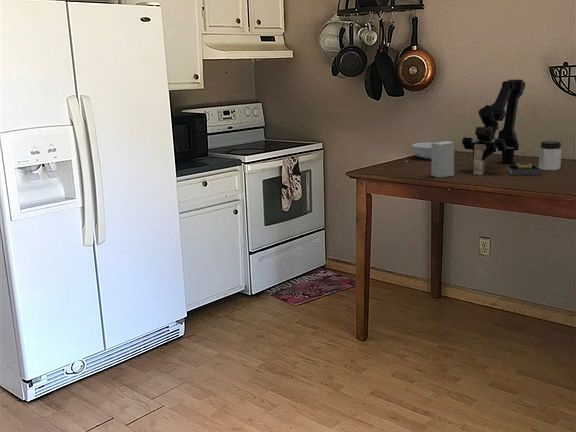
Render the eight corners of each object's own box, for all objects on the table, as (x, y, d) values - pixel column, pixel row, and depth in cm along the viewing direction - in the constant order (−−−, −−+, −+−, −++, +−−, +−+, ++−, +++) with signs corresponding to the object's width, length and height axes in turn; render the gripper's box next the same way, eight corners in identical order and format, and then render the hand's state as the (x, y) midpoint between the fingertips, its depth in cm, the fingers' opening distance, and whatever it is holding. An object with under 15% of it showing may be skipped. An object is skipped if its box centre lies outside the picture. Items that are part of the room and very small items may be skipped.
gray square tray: (506, 170, 286) (507, 161, 285) (534, 170, 284) (535, 161, 283) (511, 175, 274) (512, 166, 273) (541, 175, 272) (541, 166, 271)
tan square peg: (476, 172, 284) (477, 143, 280) (484, 173, 281) (485, 144, 278) (473, 174, 281) (474, 144, 278) (481, 174, 279) (482, 145, 276)
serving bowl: (457, 160, 318) (458, 146, 316) (415, 162, 318) (415, 148, 317) (448, 154, 338) (448, 141, 336) (408, 155, 338) (408, 142, 337)
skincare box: (446, 173, 284) (447, 140, 280) (454, 176, 278) (455, 142, 275) (430, 175, 281) (430, 142, 278) (438, 178, 276) (438, 143, 272)
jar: (551, 171, 281) (552, 144, 278) (535, 168, 288) (536, 142, 285) (563, 168, 286) (565, 141, 283) (547, 166, 292) (549, 140, 289)
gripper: (464, 119, 284) (452, 147, 279) (505, 120, 273) (494, 149, 267) (470, 134, 292) (459, 162, 286) (511, 136, 281) (500, 165, 275)
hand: (478, 159), depth 279 cm, fingers closed on tan square peg, 3 cm apart
